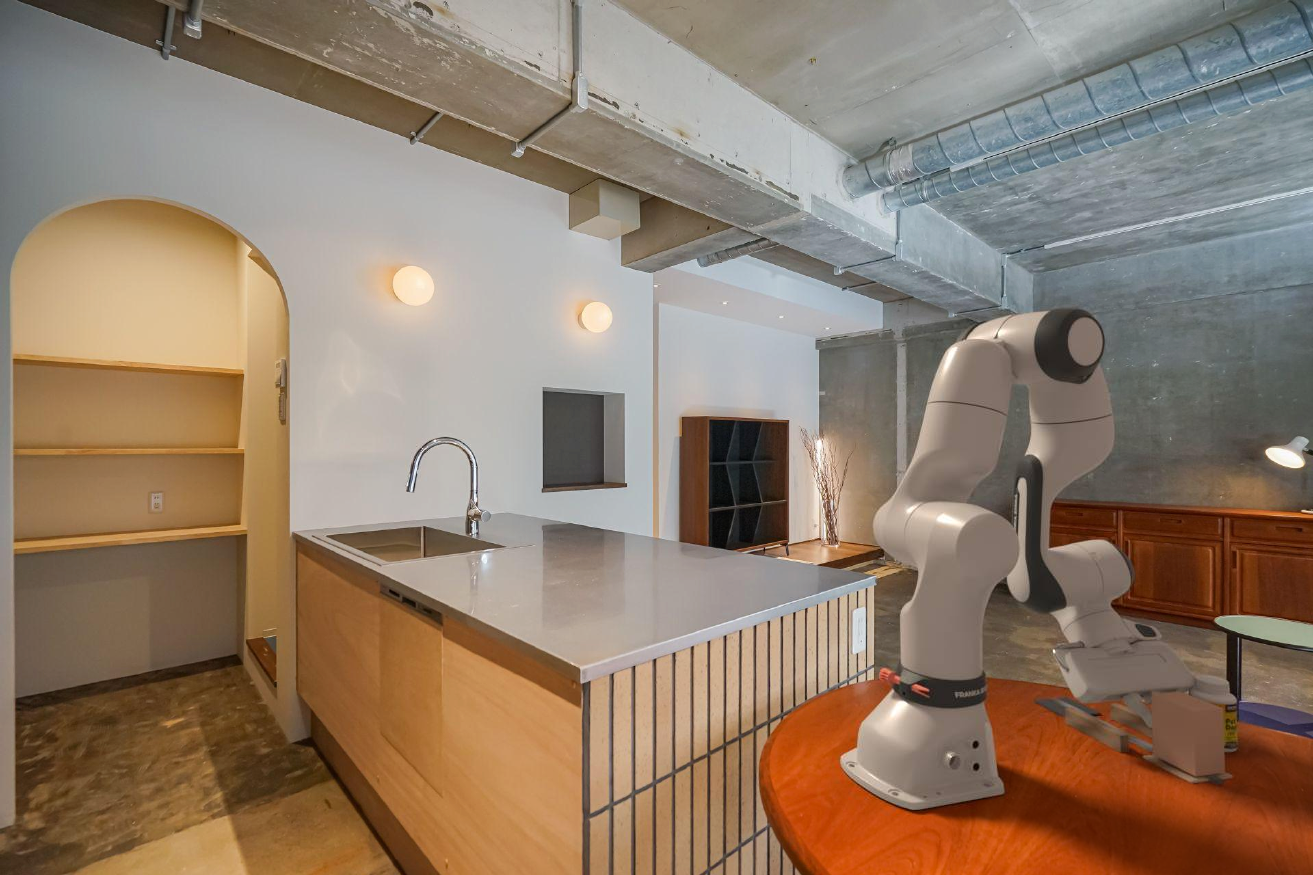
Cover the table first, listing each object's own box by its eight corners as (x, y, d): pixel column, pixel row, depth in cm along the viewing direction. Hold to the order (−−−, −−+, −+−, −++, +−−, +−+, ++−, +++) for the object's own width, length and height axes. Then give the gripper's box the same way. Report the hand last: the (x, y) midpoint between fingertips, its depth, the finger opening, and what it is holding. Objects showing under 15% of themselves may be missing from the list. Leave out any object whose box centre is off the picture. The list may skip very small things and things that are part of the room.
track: (1028, 703, 110) (1027, 689, 110) (1077, 698, 112) (1077, 685, 112) (1189, 788, 82) (1188, 770, 82) (1251, 780, 84) (1250, 762, 84)
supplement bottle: (1231, 757, 90) (1230, 688, 91) (1184, 742, 95) (1182, 677, 95) (1243, 747, 93) (1241, 680, 94) (1196, 733, 98) (1194, 669, 98)
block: (1153, 754, 90) (1151, 694, 90) (1180, 751, 91) (1179, 691, 91) (1195, 776, 84) (1193, 711, 84) (1224, 772, 85) (1223, 708, 85)
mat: (1142, 757, 91) (1142, 755, 91) (1181, 752, 92) (1181, 751, 92) (1191, 783, 84) (1191, 780, 84) (1232, 777, 85) (1232, 775, 85)
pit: (1034, 701, 111) (1034, 699, 111) (1066, 698, 112) (1066, 696, 112) (1066, 718, 104) (1066, 716, 104) (1101, 714, 105) (1101, 712, 105)
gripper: (1058, 634, 97) (1116, 723, 87) (1164, 626, 101) (1231, 711, 91) (1037, 653, 101) (1089, 740, 91) (1139, 645, 105) (1200, 727, 95)
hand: (1161, 725), depth 91 cm, fingers closed, pressing on block
